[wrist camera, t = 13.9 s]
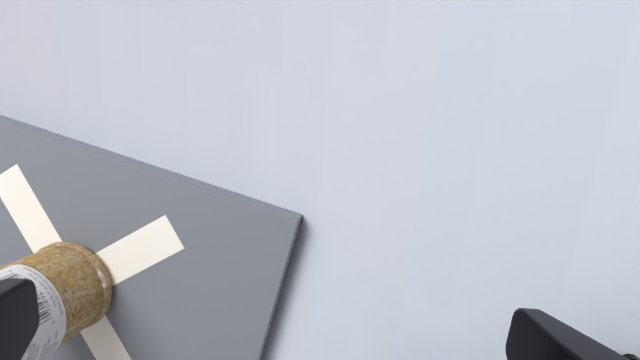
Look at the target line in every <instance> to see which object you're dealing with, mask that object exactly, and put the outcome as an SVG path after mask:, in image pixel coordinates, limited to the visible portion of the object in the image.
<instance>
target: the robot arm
mask: <svg viewBox="0 0 640 360" xmlns="http://www.w3.org/2000/svg"><path fill="white" fill-rule="evenodd" d="M39 322H40V315H39V307H38V299H37V292H36V286H35V283H34V282H33V281H32V280H31V279H24V278H6V279H3V280H0V360H21V359H22V357H23V356H24V354H25V352H26V350H27V348H28V347H29V345H30V343H31V341H32V339H33V338H34V336H35V334H36V332H37V330H38V327H39ZM506 356H507V360H640V359H639V358H638V357H637V356H635V355H633V354H625V355H620V354H619V353H617V352H615V351H613V350H611V349H610V348H608V347H606V346H604V345H602V344H601V343H599V342H597V341H595V340H593V339H592V338H590V337H588V336H586V335H584V334H583V333H581V332H579V331H577V330H575V329H574V328H572V327H570V326H568V325H566V324H565V323H563V322H561V321H559V320H557V319H556V318H554V317H552V316H550V315H548V314H547V313H545V312H543V311H541V310H539V309H529V308H518V309H517V310H515V312H514V314H513V317H512V321H511V325H510V329H509V333H508V337H507V342H506Z"/></svg>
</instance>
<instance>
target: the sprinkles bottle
mask: <svg viewBox="0 0 640 360" xmlns="http://www.w3.org/2000/svg"><path fill="white" fill-rule="evenodd" d="M6 278H24V279H31V280H32V281H33V282H34V283H35V286H36V292H37V299H38V307H39V315H40V322H39V327H38V330H37V332H36V334H35V336H34V338H33V339H32V341H31V343H30V345H29V347H28V348H27V350H26V352H25V354H24V356H23V357H22V359H21V360H44V359H45V358H47V357H48V356H49V355H51V354H52V353H53V352H54V351H55V350H56V349H57V348H58V347H59V346H61V345H62V344H64V343H65V342H66V341H68V340H69V339H70V338H72V337H74V336H75V335H76V334H77V333H79V332H80V331H82V330H83V329H85V328H87V327H90V326H92V325H94V324H96V323H97V322H98V321H99V320H101V319H102V317H103V316H104V315H105V313H106V312H107V310H108V309H109V305H110V302H111V293H112V288H111V281H110V276H109V274H108V272H107V270H106V268H105V267H104V264H102V263H101V261H100V260H99V258H98V257H97V256H96V255H95V254H93V253H92V252H91V251H90V250H89V249H87V248H85V247H83V246H81V245H79V244H76V243H71V242H55V243H51V244H49V245H47V246H45V247H43V248H41V249H39V250H38V252H37V253H34V254H32V255H29V256H26V257H24V258H21V259H19V260H17V261H15V262H12V263H10V264H7V265H4V266H2V267H0V280H3V279H6Z"/></svg>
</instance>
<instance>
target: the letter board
mask: <svg viewBox="0 0 640 360" xmlns="http://www.w3.org/2000/svg"><path fill="white" fill-rule="evenodd" d="M301 219H302V215H301V214H298V213H295V212H292V211H289V210H286V209H283V208H280V207H277V206H274V205H271V204H268V203H265V202H262V201H259V200H256V199H253V198H250V197H247V196H244V195H241V194H238V193H235V192H232V191H229V190H226V189H223V188H219V187H216V186H213V185H210V184H207V183H204V182H201V181H198V180H195V179H192V178H189V177H186V176H183V175H180V174H177V173H174V172H171V171H168V170H165V169H162V168H159V167H156V166H153V165H150V164H147V163H144V162H141V161H138V160H135V159H132V158H129V157H126V156H122V155H119V154H116V153H113V152H110V151H107V150H104V149H101V148H98V147H95V146H92V145H89V144H86V143H83V142H80V141H77V140H74V139H71V138H68V137H65V136H62V135H59V134H56V133H53V132H50V131H47V130H44V129H41V128H38V127H35V126H32V125H28V124H25V123H22V122H19V121H16V120H13V119H10V118H7V117H4V116H1V115H0V267H2V266H4V265H7V264H10V263H12V262H15V261H17V260H19V259H21V258H24V257H26V256H29V255H32V254H34V253H37V252H38V250H39V249H41V248H43V247H45V246H47V245H49V244H51V243H55V242H71V243H76V244H79V245H81V246H83V247H85V248H87V249H89V250H90V251H91V252H92V253H93V254H95V255H96V256H97V257H98V258H99V260H100V261H101V263H102V264H104V267H105V268H106V270H107V272H108V274H109V276H110V281H111V288H112V293H111V302H110V305H109V309H108V310H107V312H106V313H105V315H104V316H103V317H102V319H101V320H99V321H98V322H97V323H96V324H94V325H92V326H90V327H87V328H85V329H83V330H82V331H80V332H79V333H77V334H76V335H75V336H74V337H72V338H70V339H69V340H68V341H66V342H65V343H64V344H62V345H61V346H59V347H58V348H57V349H56V350H55V351H54V352H53V353H52V354H51V355H49V356H48V357H47V358H45V359H44V360H261V357H262V354H263V350H264V347H265V343H266V340H267V336H268V333H269V330H270V326H271V323H272V319H273V316H274V312H275V309H276V305H277V302H278V298H279V295H280V291H281V288H282V285H283V281H284V278H285V274H286V271H287V267H288V264H289V260H290V257H291V253H292V250H293V246H294V243H295V239H296V236H297V233H298V229H299V226H300V222H301Z"/></svg>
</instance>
